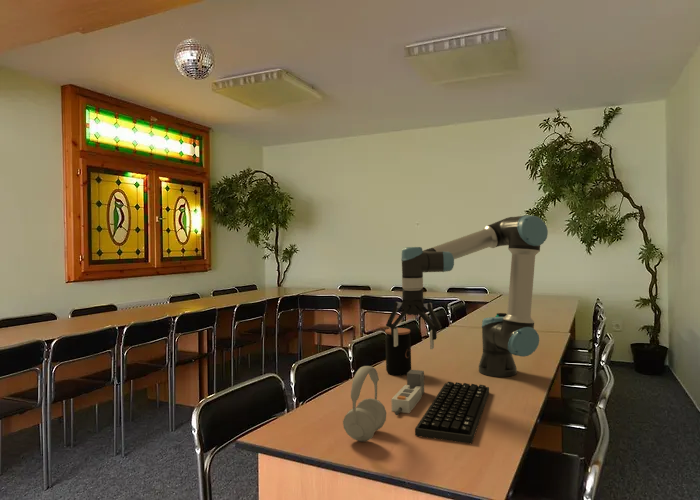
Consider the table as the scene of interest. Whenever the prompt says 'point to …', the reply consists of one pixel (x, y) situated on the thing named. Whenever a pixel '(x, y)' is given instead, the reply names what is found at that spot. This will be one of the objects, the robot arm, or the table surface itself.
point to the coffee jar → (398, 352)
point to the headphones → (364, 409)
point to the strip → (406, 399)
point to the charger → (416, 379)
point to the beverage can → (501, 314)
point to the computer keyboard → (454, 413)
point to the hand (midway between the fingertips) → (413, 347)
